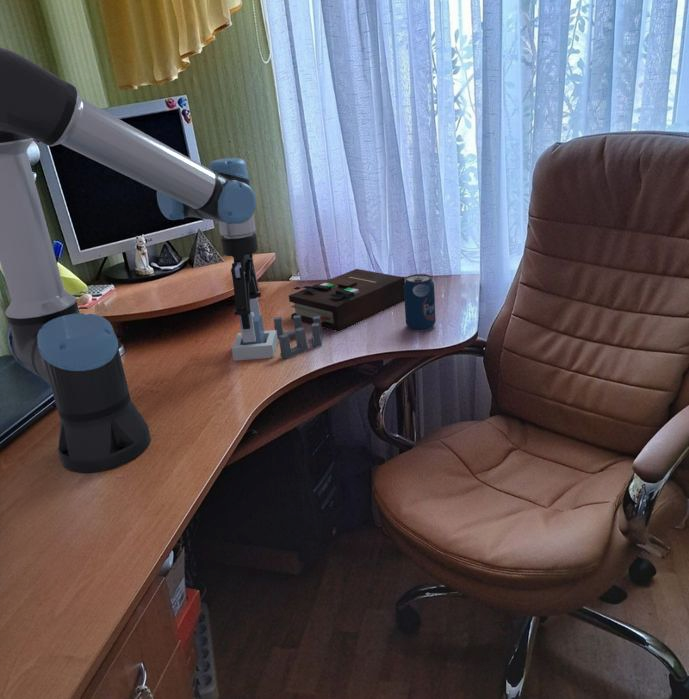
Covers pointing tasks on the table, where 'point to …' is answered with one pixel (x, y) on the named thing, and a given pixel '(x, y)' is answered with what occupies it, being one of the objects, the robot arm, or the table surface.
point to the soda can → (419, 302)
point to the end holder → (255, 347)
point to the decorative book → (348, 298)
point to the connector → (257, 330)
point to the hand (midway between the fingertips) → (252, 333)
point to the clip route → (297, 336)
